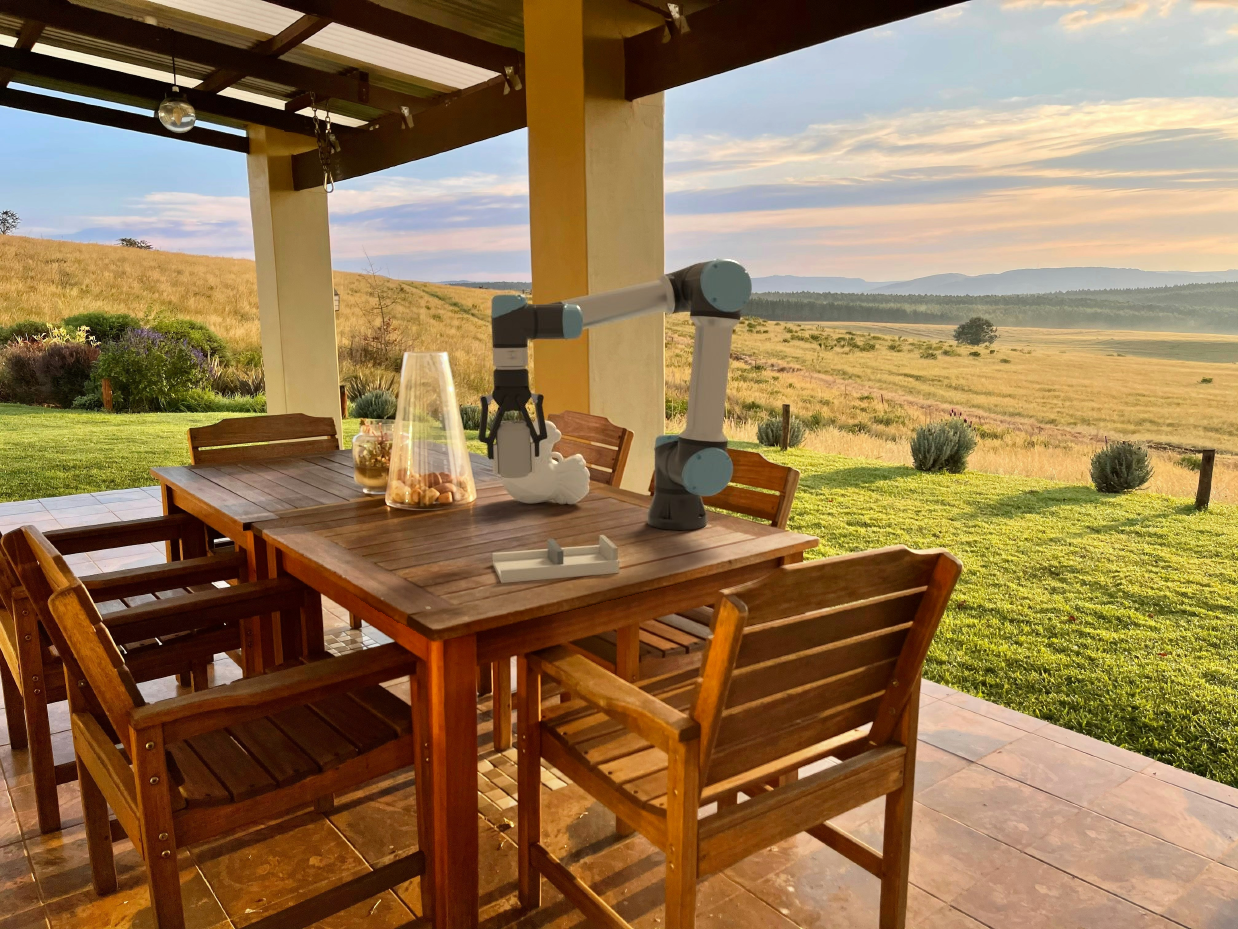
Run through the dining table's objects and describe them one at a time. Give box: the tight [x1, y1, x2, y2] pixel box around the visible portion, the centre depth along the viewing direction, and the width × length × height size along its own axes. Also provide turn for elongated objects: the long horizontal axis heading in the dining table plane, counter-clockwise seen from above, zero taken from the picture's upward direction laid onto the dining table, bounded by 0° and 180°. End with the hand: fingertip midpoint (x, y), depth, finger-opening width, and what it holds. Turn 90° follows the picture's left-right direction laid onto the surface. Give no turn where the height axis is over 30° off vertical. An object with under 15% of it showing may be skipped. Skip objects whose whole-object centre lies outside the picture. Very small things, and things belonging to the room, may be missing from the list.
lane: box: [492, 534, 620, 584], centre depth 168 cm, size 24×13×5 cm, turn 106°
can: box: [495, 420, 531, 478], centre depth 177 cm, size 8×8×12 cm
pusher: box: [546, 537, 563, 565], centre depth 168 cm, size 1×10×4 cm, turn 16°
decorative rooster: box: [501, 417, 591, 505], centre depth 226 cm, size 25×16×25 cm
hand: (514, 472), depth 178 cm, fingers closed on can, 7 cm apart
